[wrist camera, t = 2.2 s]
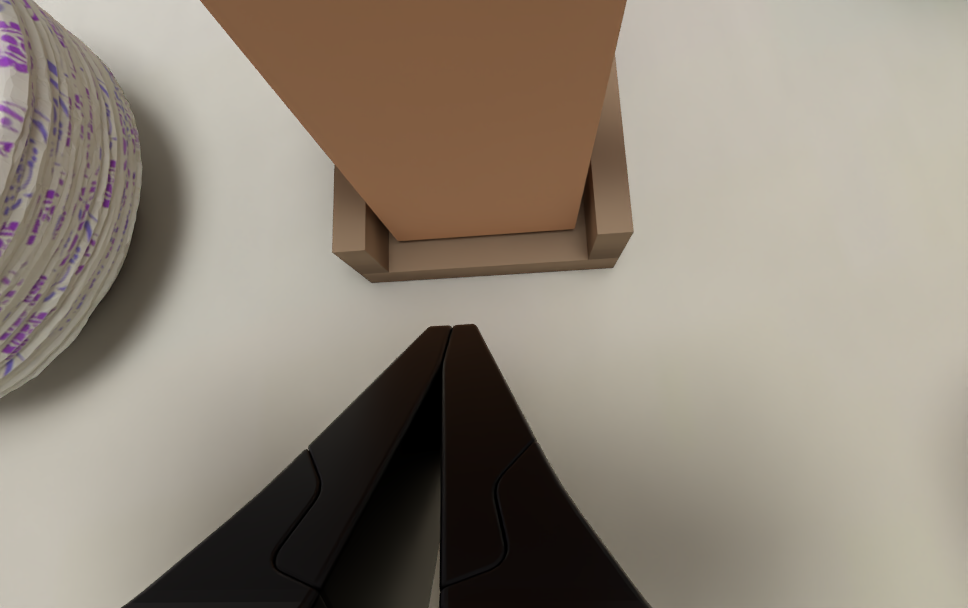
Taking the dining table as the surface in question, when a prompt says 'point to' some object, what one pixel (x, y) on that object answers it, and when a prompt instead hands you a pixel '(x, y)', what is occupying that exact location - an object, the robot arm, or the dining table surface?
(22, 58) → the paper bowls
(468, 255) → the brown wooden tray
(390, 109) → the block
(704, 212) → the dining table surface
